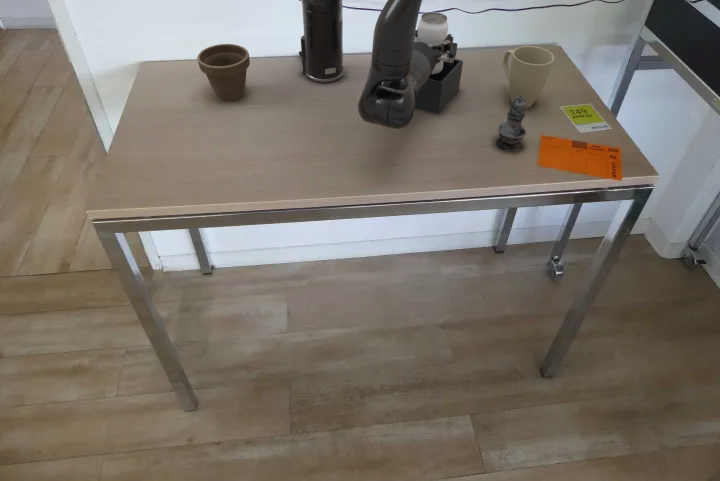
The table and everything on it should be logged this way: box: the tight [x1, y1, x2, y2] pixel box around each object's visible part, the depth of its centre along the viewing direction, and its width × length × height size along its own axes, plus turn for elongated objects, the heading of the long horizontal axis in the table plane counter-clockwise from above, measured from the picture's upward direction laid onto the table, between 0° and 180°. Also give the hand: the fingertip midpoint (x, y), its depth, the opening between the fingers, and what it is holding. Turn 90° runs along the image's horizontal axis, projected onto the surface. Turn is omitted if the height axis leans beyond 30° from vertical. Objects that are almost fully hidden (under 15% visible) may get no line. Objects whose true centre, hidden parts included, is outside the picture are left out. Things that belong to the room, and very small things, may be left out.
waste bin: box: [415, 58, 464, 115], centre depth 132 cm, size 12×12×8 cm
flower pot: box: [197, 43, 251, 102], centre depth 130 cm, size 12×11×10 cm
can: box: [417, 11, 449, 75], centre depth 125 cm, size 6×6×12 cm
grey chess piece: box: [496, 95, 527, 152], centre depth 117 cm, size 6×6×12 cm
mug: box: [502, 45, 555, 109], centre depth 129 cm, size 11×10×12 cm
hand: (434, 35), depth 126 cm, fingers closed on can, 6 cm apart
